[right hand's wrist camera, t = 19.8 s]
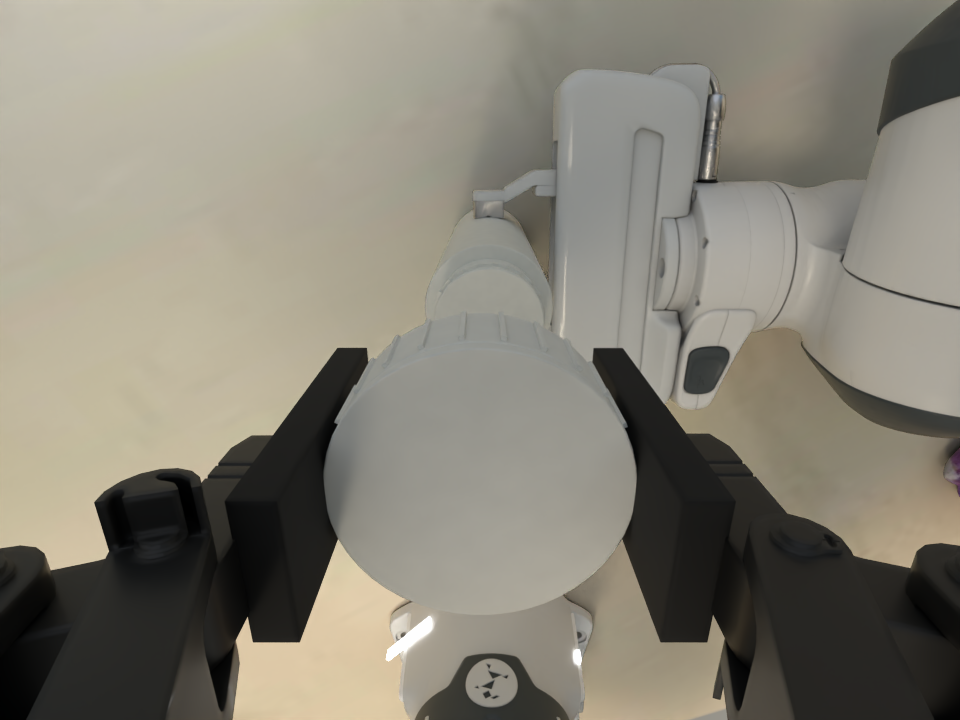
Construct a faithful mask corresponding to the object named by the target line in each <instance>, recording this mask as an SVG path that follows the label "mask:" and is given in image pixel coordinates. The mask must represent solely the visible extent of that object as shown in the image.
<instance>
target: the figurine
mask: <svg viewBox="0 0 960 720" xmlns="http://www.w3.org/2000/svg"><path fill="white" fill-rule="evenodd" d="M943 474H944V478H945V479H946V480H948V481H950V482H951V483H953V484H955V485H957V488H958V494H959V496H960V448H959V449H958V450H957V451H956V452H955V453H954V454H953V455H952V456H951V457H950V458H949V459H948V461H947V463H946V465H945V468H944V471H943Z"/></svg>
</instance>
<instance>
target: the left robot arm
mask: <svg viewBox="0 0 960 720" xmlns="http://www.w3.org/2000/svg"><path fill="white" fill-rule="evenodd" d="M709 83H710V85H711V89H712V94H710V95H708V91H709ZM725 112H726V95H725V94H720V86H719V82H718V79H717V77H716V76H715V74H714V73H713V72H712V71H711V70H710V69H709V68H708V67H706V66H704V65H702V64H697V63H673V64H666V65H663V66H660V67H658V68H657V69H655V70H654V71H653V72H651V73H650V74H649V75H648V74H641V73H634V72H626V71H617V70H601V69H580V70H576V71H574V72H572V73H571V74H570V75H568V76H567V77H566V78H565V79H564V80H563V81H562V82H561V83H560V85H559V86H558V87H557V88H556V90H555V93H554V108H553V141H552V169H538V170H531V171H529V172H527V173H526V174H524V175H523V176H521V177H519V178H518V179H516V180H515V181H513V182H511V183H510V184H508V185H507V186H505V187H504V188H503V190H474V191H473V218H486V217H487V216H488V215H489V216H490V217H491V218H504V203H507V202H508V201H510V200H511V199H513V198H515V197H516V196H518V195H520V194H521V193H523V192H525V191H526V190H528V189H530V188H531V187H532V192H533V193H534V194H535V195H536V196H551V205H550V238H549V270H548V284H549V286H550V289H551V294H552V300H553V313H552V319H551V323H550V326H549V329H548V330H549V331H551V332H553V333H554V334H556V335H558V336H559V337H561V338H562V339H563V340H564V339H565V337H566V338H568V339H569V340H570V342H571V344H572V346H573V348H574V349H575V350H576V351H577V352H579V353H580V354H581V355H582V356H583V357H584V359H585V360H586V361H587V363H588V362H589V361H591V362H592V360H593V348H623V349H624V350H625V352H626V353H627V354H628V356H629V357H630V358H631V360H632V361H633V362H634V364H635V365H636V367H637V368H638V369H639V371H640V372H641V373H642V375H643V376H644V377H645V379H646V380H647V381H648V383H649V384H650V385H651V387H652V388H653V390H654V391H655V392H656V394H657V395H658V396H659V398H660V399H661V400H662V402H663V403H664V404H666V403H667V401H668V400H669V398H671V399H672V400H673V401H674V402H675V403H676V404H677V405H678V406H679V407H681V408H683V409H691V410H694V409H695V410H696V409H703V408H705V407H707V406H708V405H709V404H710V403H711V402H712V400H713V398H714V397H715V395H716V393H717V391H718V389H719V387H720V385H721V383H722V381H723V379H724V377H725V375H726V373H727V371H728V369H729V368H730V366H731V364H732V362H733V360H734V359H735V357H736V355H737V353H738V352H739V350H740V348H741V347H742V345H743V343H744V342H745V340H746V339H747V337H748V336H749V334H750V333H751V332H759V331H763V330H767V329H772V328H788V329H791V330H794V331H796V332H798V333H799V334H800V335H801V337H802V340H803V341H802V342H801V346H802V348H803V349H804V351H805V352H806V354H807V356H808V357H809V359H810V360H811V361H812V363H813V364H814V365H815V366H816V368H817V369H818V370H819V372H820V373H821V374H822V375H823V376H824V378H825V379H826V380H827V382H828V383H829V384H830V385H831V387H832V388H833V389H834V390H835V391H836V393H837V394H838V395H839V397H840V398H841V399H842V400H843V401H844V402H845V403H846V404H847V405H848V406H850V407H851V408H852V409H854V410H855V411H856V412H858V413H859V414H860V415H862V416H863V417H865V418H867V419H868V420H870V421H872V422H874V423H876V424H879V425H881V426H884V427H887V428H890V429H894V430H898V431H902V432H906V433H911V434H917V435H923V436H930V437H940V438H960V0H957V1H956V2H955V3H953V4H952V5H951V6H950V7H949V8H947V9H946V10H945V11H944V12H942V13H941V14H940V15H939V16H938V17H936V18H935V19H934V20H933V21H932V22H931V23H930V24H928V25H927V26H926V27H925V28H924V29H923V30H922V31H921V32H920V33H919V34H918V35H917V36H915V37H914V38H913V39H912V40H911V41H910V42H909V43H908V44H907V45H906V46H905V47H904V48H903V49H902V50H901V51H900V52H899V53H898V54H897V55H896V56H895V57H894V58H893V59H892V61H891V65H890V70H889V75H888V80H887V85H886V90H885V95H884V100H883V105H882V109H881V114H880V119H879V124H878V129H877V134H878V135H879V139H878V142H877V146H876V149H875V152H874V156H873V159H872V163H871V166H870V170H869V173H868V176H867V180H837V181H832V182H828V183H825V184H822V185H819V186H815V187H808V188H802V187H795V186H791V185H788V184H785V183H781V182H777V181H732V182H718V181H716V180H717V173H718V164H719V157H720V137H721V136H720V135H721V127H722V121H724V118H725ZM693 180H698V181H696V182H693ZM592 629H593V622H592V616H591V614H590V613H589V612H588V611H587V610H585V609H583V608H582V607H580V606H578V605H576V604H574V603H572V602H570V601H568V600H567V599H566V598H565V597H564V596H563V595H562V596H560V597H558V598H555V599H553V600H551V601H549V602H546V603H544V604H541V605H538V606H535V607H532V608H529V609H524V610H520V611H515V612H510V613H502V614H493V615H469V614H458V613H451V612H446V611H440V610H436V609H432V608H429V607H426V606H422V605H419V604H417V603H414V602H411V603H409V604H407V605H405V606H403V607H401V608H399V609H398V610H396V611H395V612H394V613H393V614H392V615H391V617H390V631H391V634H392V636H393V639H394V642H395V645H393V646H392V647H391V648H390V649H388V652H387V657H386V660H388V661H389V660H391V659H392V658H393V657H394V656H396V655H397V654H398V653H399V656H400V658H401V661H402V669H401V678H400V687H399V699H400V701H402V702H404V707H405V711H406V713H407V715H408V717H409V719H410V720H579V713H582V712H583V707H584V699H585V689H584V681H583V674H582V667H581V661H582V658H583V656H584V653H585V650H586V647H587V644H588V641H589V638H590V635H591V632H592Z"/></svg>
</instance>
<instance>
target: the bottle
mask: <svg viewBox="0 0 960 720" xmlns="http://www.w3.org/2000/svg"><path fill="white" fill-rule="evenodd" d="M462 311H467V314H468V313H491V314H498V312H504V315H507V316H511V317H516V318H520V319H524V320H526V321H529V322H532V323H533V322H534V320H535V321H537V322H539V324H540V326H542V327H544V328H545V329H547V330H548V329H549V326H550V323H551V319H552V313H553V300H552V294H551V289H550V286H549V284H548V281H547V279H546V277H545V275H544V273H543V271H542V268H541V266H540V264H539V262H538V260H537V258H536V256H535V254H534V252H533V249H532V247H531V245H530V243H529V241H528V239H527V237H526V235H525V233H524V230H523V228H522V226H521V225H520V223H519V222H518V220H517V219H516V218H515V217H514V216H513V215H511V214H510V213H509V212H507V211H505V210H504V218H491V217H490V216H489V215H488V216H487V217H486V218H473V210H472V211H470V212H469V213H467V214H466V215H465V216H463V217H462V218H461V219H460V221H459V222H458V223H457V225H456V227H455V229H454V231H453V233H452V235H451V237H450V240H449V242H448V244H447V246H446V248H445V251H444V253H443V255H442V257H441V259H440V262H439V264H438V266H437V268H436V270H435V273H434V275H433V277H432V279H431V281H430V284H429V287H428V289H427V294H426V300H425V314H426V319H427V320H428V319H431V321H434V320H437V319H441V318H445V317H448V316H453V315H461V312H462Z"/></svg>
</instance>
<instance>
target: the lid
mask: <svg viewBox="0 0 960 720" xmlns="http://www.w3.org/2000/svg"><path fill="white" fill-rule="evenodd" d="M334 423H336V424H338V425H337V427H336V429H335V431H334V433H333V435H332V438H331V441H330V444H329V447H328V450H327V452H326V458H325V464H324V470H323V478H324V488H325V496H326V504H327V511H328V515H329V519H330V522H331V524H332V527H333V529H334V531H335V533H336V535H337V537H338V539H339V541H340V542H341V544H342V545H343V547H344V548H345V550H346V552H347V553H348V554H349V555H350V557H351V558H352V559H353V560H354V561H355V562H356V564H357V565H358V566H359V567H360V568H361V569H362V570H363V571H364V572H366V573H367V574H368V575H369V576H370V577H371V578H372V579H374V580H375V581H376V582H378V583H379V584H381V585H382V586H383V587H385V588H386V589H388V590H390V591H392V592H393V593H395V594H397V595H399V596H401V597H402V598H405V599H407V600H410V601H412V602H414V603H417V604H419V605H422V606H426V607H429V608H432V609H436V610H440V611H446V612H451V613H458V614H469V615H493V614H502V613H510V612H515V611H520V610H524V609H529V608H532V607H535V606H538V605H541V604H544V603H546V602H549V601H551V600H553V599H555V598H558V597H560V596H562V595H564V594H565V593H567V592H569V591H571V590H572V589H574V588H576V587H577V586H579V585H580V584H581V583H583V582H584V581H585V580H587V579H588V578H589V577H591V576H592V575H593V574H594V573H595V572H596V571H597V570H598V569H599V568H600V567H601V566H602V565H603V564H604V563H605V562H606V561H607V559H608V558H609V557H610V556H611V555H612V553H613V552H614V551H615V549H616V548H617V546H618V544H619V543H620V541H621V539H622V538H623V536H624V534H625V532H626V530H627V527H628V525H629V523H630V520H631V517H632V513H633V507H634V500H635V492H636V483H637V467H636V462H635V457H634V452H633V448H632V445H631V443H630V440H629V437H628V435H627V432H626V430H625V428H626V427H628V426H627V424H626V422H625V420H624V418H623V416H622V414H621V412H620V411H619V409H618V407H617V405H616V403H615V401H614V400H613V398H612V396H611V394H610V392H609V390H608V389H607V388H606V386H605V385H604V383H603V381H602V379H601V377H600V375H599V373H598V372H597V370H596V368H595V366H594V364H593V363H592V362H591V361H589V362H588V363H587V361H586V360H585V359H584V357H583V356H582V355H581V354H580V353H579V352H577V351H576V350H575V349H574V348H573V346H572V344H571V342H570V340H569V339H568V338H566V337H565V339H564V340H563V339H562V338H561V337H559V336H558V335H556V334H554V333H553V332H551V331H549V330H547V329H545V328H544V327H542V326H540V324H539V322H537V321H535V320H534V322H533V323H532V322H529V321H526V320H524V319H520V318H516V317H511V316H507V315H504V312H498V314H491V313H468V314H467V311H462V312H461V315H453V316H448V317H445V318H441V319H437V320H434V321H431V319H428V320H426V321H425V324H424V325H421V326H419V327H417V328H415V329H413V330H411V331H409V332H408V333H406V334H404V335H403V336H401V337H400V336H399V335H397V336H395V337H394V339H393V341H392V344H391V345H389V346H388V347H387V348H386V349H385V350H384V351H383V352H382V353H381V354H380V355H379V356H378V357H377V358H376V359H374V358H373V357H372V358H371V360H370V361H369V363H368V365H367V366H366V368H365V370H364V372H363V374H362V376H361V378H360V379H359V381H358V383H357V385H354V387H353V388H352V390H351V392H350V394H349V396H348V398H347V399H346V401H345V403H344V405H343V407H342V408H341V410H340V412H339V414H338V416H337V418H336V420H335V422H334Z"/></svg>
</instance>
